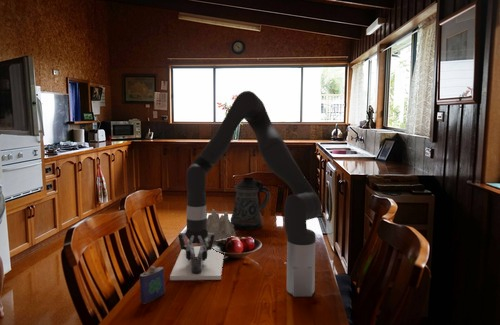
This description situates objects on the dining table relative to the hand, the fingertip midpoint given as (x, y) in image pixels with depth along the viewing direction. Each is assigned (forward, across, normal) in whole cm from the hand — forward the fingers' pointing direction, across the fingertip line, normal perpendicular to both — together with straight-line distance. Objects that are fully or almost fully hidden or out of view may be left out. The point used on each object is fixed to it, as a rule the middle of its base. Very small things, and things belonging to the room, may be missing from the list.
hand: (196, 259), depth 150 cm
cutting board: (+3, +1, +4) cm, 5 cm away
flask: (+4, -11, -24) cm, 27 cm away
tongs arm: (+2, -3, +5) cm, 6 cm away
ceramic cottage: (+4, +6, +37) cm, 38 cm away
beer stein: (+3, +21, +54) cm, 58 cm away
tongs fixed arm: (+1, +1, +3) cm, 4 cm away
